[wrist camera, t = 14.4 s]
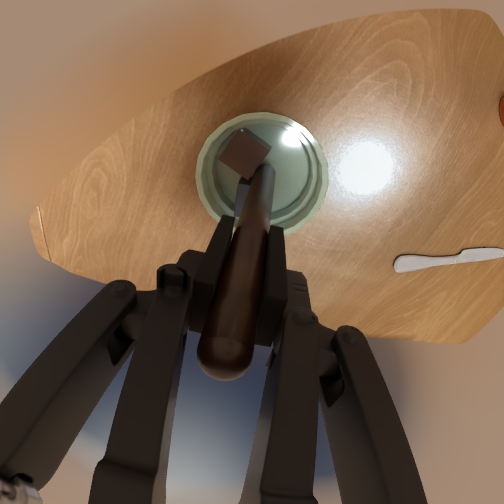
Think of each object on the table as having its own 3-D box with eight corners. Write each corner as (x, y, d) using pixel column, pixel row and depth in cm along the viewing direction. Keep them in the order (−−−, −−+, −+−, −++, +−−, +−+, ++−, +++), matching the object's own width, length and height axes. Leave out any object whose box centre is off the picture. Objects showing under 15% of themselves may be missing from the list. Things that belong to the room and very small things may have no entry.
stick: (264, 157, 26) (208, 353, 8) (280, 169, 26) (261, 378, 8) (252, 172, 27) (181, 373, 9) (267, 183, 27) (228, 395, 9)
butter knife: (396, 255, 32) (393, 274, 33) (508, 246, 29) (503, 261, 31) (395, 253, 32) (392, 272, 33) (506, 245, 30) (502, 260, 31)
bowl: (217, 103, 25) (206, 102, 21) (331, 128, 26) (343, 132, 21) (200, 208, 31) (188, 225, 27) (303, 230, 32) (307, 250, 27)
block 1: (244, 127, 26) (238, 129, 23) (272, 147, 26) (270, 151, 23) (225, 153, 27) (217, 159, 24) (252, 172, 28) (247, 180, 25)
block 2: (241, 174, 28) (237, 183, 25) (273, 179, 28) (274, 188, 25) (237, 205, 30) (233, 216, 27) (268, 210, 30) (268, 222, 27)
